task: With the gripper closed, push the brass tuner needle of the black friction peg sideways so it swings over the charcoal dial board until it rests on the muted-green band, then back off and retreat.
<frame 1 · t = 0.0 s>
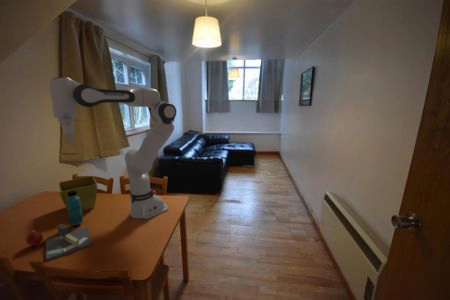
hand: (70, 142, 103), 48 cm above the table, fingers open, 8 cm apart
flower pot: (81, 207, 138), on the table
beverage bottle: (77, 224, 119), on the table
dial board: (69, 243, 103), on the table
onion: (36, 245, 102), on the table
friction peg: (68, 235, 102), point 5 cm above the table, hinge at 22.0°
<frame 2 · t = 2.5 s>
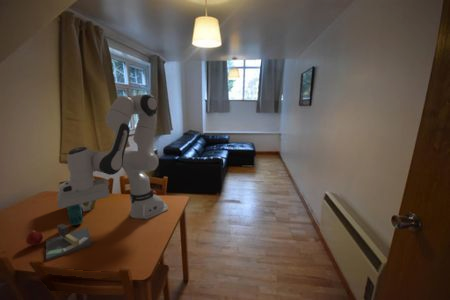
hand: (86, 210, 101), 17 cm above the table, fingers closed
nothing on the table moved.
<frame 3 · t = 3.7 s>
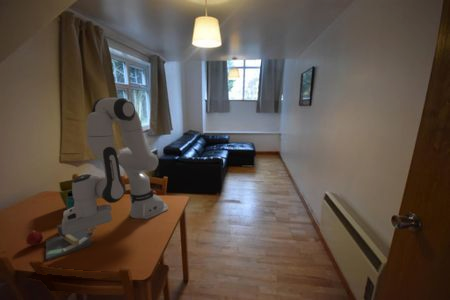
hand: (89, 235, 103), 4 cm above the table, fingers closed
nothing on the table moved.
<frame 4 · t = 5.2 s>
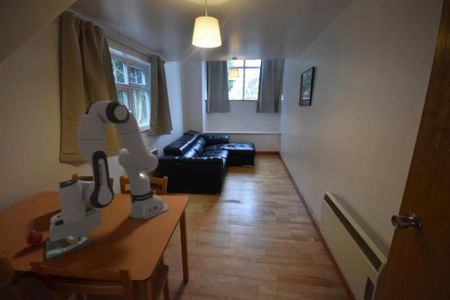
hand: (79, 240, 101), 3 cm above the table, fingers closed
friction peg: (68, 235, 102), point 5 cm above the table, hinge at 20.6°, touching gripper
everything else where it was.
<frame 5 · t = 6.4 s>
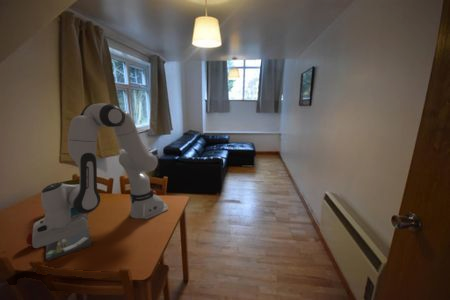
hand: (64, 246, 97), 3 cm above the table, fingers closed, pressing on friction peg
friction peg: (61, 237, 100), point 5 cm above the table, hinge at -10.7°, touching gripper
everything else where it was.
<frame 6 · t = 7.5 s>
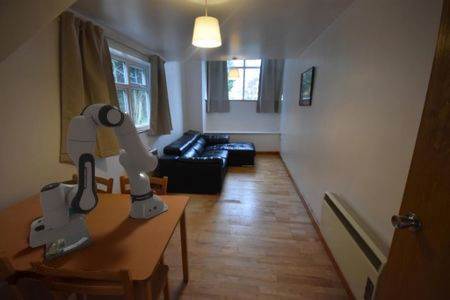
hand: (62, 246, 97), 3 cm above the table, fingers closed
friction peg: (59, 237, 100), point 5 cm above the table, hinge at -22.8°
everything else where it was.
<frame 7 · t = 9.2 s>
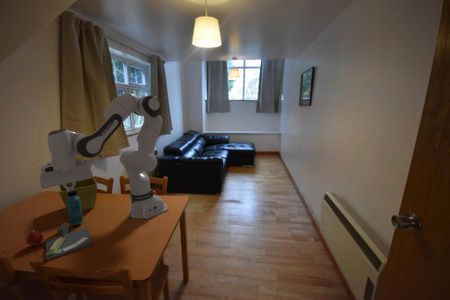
hand: (70, 191, 104), 25 cm above the table, fingers closed
nothing on the table moved.
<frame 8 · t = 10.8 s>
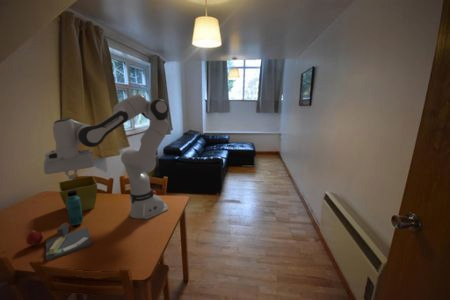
hand: (72, 178, 108), 29 cm above the table, fingers closed
nothing on the table moved.
at the end: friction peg at -23° (first picture: +22°) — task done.
